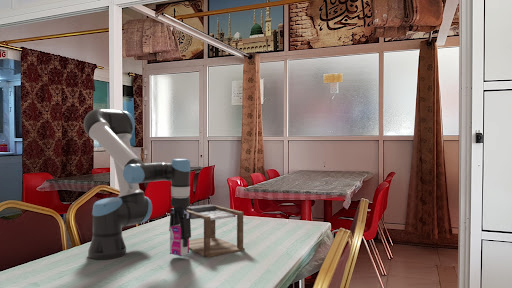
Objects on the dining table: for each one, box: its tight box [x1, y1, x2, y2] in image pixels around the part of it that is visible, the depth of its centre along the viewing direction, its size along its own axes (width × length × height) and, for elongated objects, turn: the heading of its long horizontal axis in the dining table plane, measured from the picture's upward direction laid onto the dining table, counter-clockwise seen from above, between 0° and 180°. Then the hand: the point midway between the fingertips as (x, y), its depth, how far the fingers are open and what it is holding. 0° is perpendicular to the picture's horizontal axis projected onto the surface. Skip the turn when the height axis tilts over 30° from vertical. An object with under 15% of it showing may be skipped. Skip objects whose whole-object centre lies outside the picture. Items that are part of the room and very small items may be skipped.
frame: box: [187, 204, 246, 258], centre depth 180 cm, size 28×19×17 cm
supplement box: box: [169, 224, 190, 257], centre depth 162 cm, size 6×6×12 cm
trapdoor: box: [186, 203, 237, 221], centre depth 180 cm, size 20×15×5 cm
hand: (179, 251), depth 162 cm, fingers closed on supplement box, 7 cm apart
